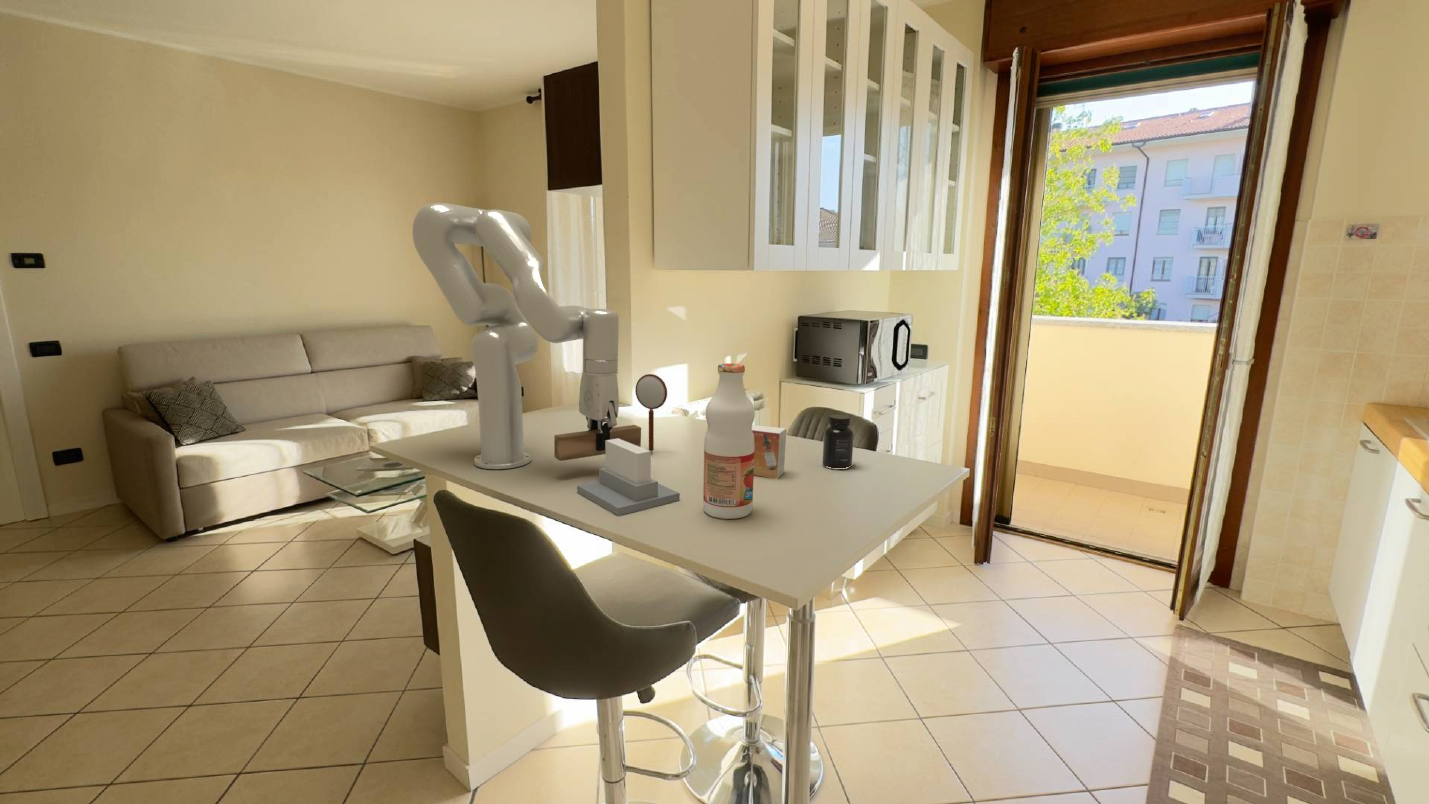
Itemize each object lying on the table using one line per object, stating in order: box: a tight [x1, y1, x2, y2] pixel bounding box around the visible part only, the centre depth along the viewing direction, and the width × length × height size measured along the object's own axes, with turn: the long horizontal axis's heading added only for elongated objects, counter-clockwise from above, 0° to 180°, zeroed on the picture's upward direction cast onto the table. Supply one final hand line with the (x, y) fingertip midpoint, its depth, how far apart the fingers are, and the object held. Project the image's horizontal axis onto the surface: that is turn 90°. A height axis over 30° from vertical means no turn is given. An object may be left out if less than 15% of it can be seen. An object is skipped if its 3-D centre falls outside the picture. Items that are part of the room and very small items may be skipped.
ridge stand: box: [576, 438, 681, 517], centre depth 128 cm, size 16×14×10 cm
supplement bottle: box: [822, 414, 855, 468], centre depth 152 cm, size 7×7×12 cm
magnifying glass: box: [635, 373, 668, 455], centre depth 158 cm, size 9×2×20 cm, turn 66°
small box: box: [752, 424, 787, 479], centre depth 145 cm, size 8×6×10 cm
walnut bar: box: [553, 424, 642, 462], centre depth 143 cm, size 3×20×5 cm, turn 129°
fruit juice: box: [702, 362, 756, 520], centre depth 120 cm, size 9×9×28 cm
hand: (599, 447), depth 144 cm, fingers closed on walnut bar, 2 cm apart
